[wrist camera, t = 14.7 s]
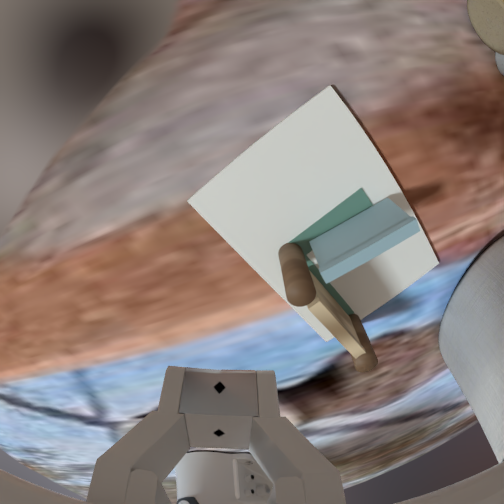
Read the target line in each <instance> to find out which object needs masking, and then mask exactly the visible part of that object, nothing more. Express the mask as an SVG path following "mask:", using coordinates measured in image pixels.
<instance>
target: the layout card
mask: <svg viewBox="0 0 504 504" xmlns="http://www.w3.org/2000/svg"><path fill="white" fill-rule="evenodd" d="M386 198H389V199H390V200H391V201H393V202H394V203H395V204H396V205H397V206H399V207H400V208H401V209H402V210H403V211H404V212H406V213H407V214H408V215H409V216H410V217H412V216H413V217H415V218H416V216H415V214H414V212H413V211H412V209H411V207H410V205H409V203H408V201H407V200H406V198H405V196H404V194H403V193H402V191H401V189H400V187H399V186H398V184H397V182H396V181H395V179H394V177H393V176H392V174H391V172H390V171H389V169H388V167H387V166H386V164H385V163H384V161H383V159H382V158H381V156H380V155H379V153H378V152H377V150H376V149H375V147H374V145H373V144H372V142H371V141H370V139H369V138H368V136H367V135H366V133H365V132H364V131H363V129H362V128H361V126H360V125H359V123H358V122H357V121H356V119H355V118H354V116H353V115H352V113H351V112H350V111H349V109H348V108H347V107H346V105H345V104H344V103H343V101H342V100H341V99H340V97H339V96H338V95H337V93H336V92H335V91H334V89H333V88H332V87H331V86H330V85H329V86H328V87H326V88H325V89H323V90H322V91H321V92H319V93H318V94H317V95H315V96H314V97H313V98H311V99H310V100H309V101H307V102H306V103H305V104H303V105H302V106H301V107H299V108H298V109H297V110H295V111H294V112H293V113H291V114H290V115H289V116H287V117H286V118H285V119H284V120H282V121H281V122H280V123H278V124H277V125H276V126H275V127H273V128H272V129H271V130H270V131H268V132H267V133H266V134H265V135H263V136H262V137H261V138H260V139H258V140H257V141H256V142H255V143H253V144H252V145H251V146H250V147H249V148H247V149H246V150H245V151H244V152H242V153H241V154H240V155H239V156H238V157H236V158H235V159H234V160H233V161H232V162H230V163H229V164H228V165H227V166H226V167H225V168H223V169H222V170H221V171H220V172H219V173H218V174H216V175H215V176H214V177H213V178H212V179H211V180H210V181H208V182H207V183H206V184H205V185H204V186H203V187H202V188H200V189H199V190H198V191H197V192H196V193H195V194H194V195H193V196H191V197H190V198H189V199H188V200H187V201H188V202H189V203H190V204H191V206H192V207H193V208H194V209H195V210H196V211H197V212H198V213H199V214H200V215H201V216H202V217H203V218H204V219H205V220H206V221H207V222H208V223H209V224H210V225H211V226H212V227H213V228H214V229H215V230H216V231H217V232H218V233H219V234H220V235H221V236H222V237H223V238H224V239H225V240H226V241H227V242H228V243H229V244H230V245H231V246H232V247H233V248H234V249H235V250H236V252H237V253H238V254H239V255H240V256H241V257H242V258H243V259H244V260H245V261H246V262H247V263H248V264H249V265H250V266H251V267H252V268H253V269H254V270H255V271H256V272H257V273H258V274H259V275H260V276H261V277H262V278H263V279H264V280H265V281H266V282H267V283H268V284H269V285H270V286H271V287H272V288H273V289H274V290H275V291H276V292H277V293H278V294H279V295H280V296H281V297H282V298H283V299H284V300H285V301H286V302H287V303H288V304H289V305H290V306H291V307H292V308H293V309H294V310H295V311H296V312H297V313H298V314H299V315H300V316H301V317H302V318H303V319H304V320H305V321H306V322H307V323H308V324H309V325H310V326H311V327H312V328H313V329H314V330H315V331H316V332H317V333H318V334H319V335H320V336H321V337H322V338H323V339H324V340H325V341H326V342H327V341H329V340H331V339H332V338H334V336H333V335H332V334H331V332H330V331H329V330H328V329H327V328H326V327H325V326H324V325H323V324H322V323H321V322H320V321H319V320H318V319H317V318H316V317H315V316H314V315H313V314H312V313H311V312H310V311H309V309H308V307H307V305H306V306H302V307H297V306H293V305H291V304H290V303H289V302H288V300H287V297H286V292H285V287H284V282H283V277H282V271H281V266H280V261H279V256H278V252H279V250H280V248H281V246H282V245H284V244H286V243H296V244H298V245H299V246H300V247H301V248H302V250H303V253H304V256H305V259H306V262H307V265H308V268H309V270H310V271H311V273H312V274H313V275H314V276H315V277H316V278H317V279H318V281H319V282H320V283H321V284H322V285H323V286H324V288H325V289H326V290H327V291H328V292H329V293H330V295H331V296H332V297H333V298H334V299H335V300H336V302H337V303H338V304H339V305H340V306H341V307H342V309H343V310H344V311H345V312H346V313H347V314H348V315H350V314H357V315H358V316H359V318H360V320H362V319H363V318H365V317H366V316H367V315H369V314H370V313H372V312H373V311H375V310H376V309H378V308H379V307H381V306H382V305H384V304H385V303H386V302H388V301H389V300H391V299H392V298H393V297H395V296H396V295H398V294H399V293H400V292H402V291H403V290H404V289H406V288H407V287H409V286H410V285H411V284H413V283H414V282H415V281H417V280H418V279H419V278H421V277H422V276H423V275H425V274H426V273H427V272H428V271H430V270H431V269H432V268H434V267H435V266H436V265H437V264H439V262H438V260H437V258H436V256H435V254H434V252H433V249H432V247H431V245H430V243H429V241H428V239H427V237H426V235H425V233H424V231H423V229H422V227H421V226H420V224H419V222H418V220H417V222H418V225H419V228H420V231H419V232H418V233H416V234H414V235H413V236H411V237H409V238H407V239H406V240H404V241H402V242H401V243H399V244H397V245H396V246H394V247H392V248H390V249H389V250H387V251H385V252H383V253H382V254H380V255H378V256H376V257H375V258H373V259H371V260H369V261H367V262H366V263H364V264H362V265H360V266H358V267H357V268H355V269H353V270H351V271H349V272H348V273H346V274H344V275H342V276H340V277H338V278H336V279H335V280H333V281H331V282H329V283H327V284H326V283H325V281H324V279H323V277H322V276H321V274H320V272H319V268H320V267H319V265H318V262H317V260H316V257H315V255H314V252H313V250H312V248H311V245H310V243H309V241H311V240H313V239H315V238H317V237H318V236H320V235H322V234H324V233H326V232H327V231H329V230H331V229H333V228H335V227H336V226H338V225H340V224H342V223H343V222H345V221H347V220H349V219H351V218H352V217H354V216H356V215H358V214H359V213H361V212H363V211H365V210H367V209H368V208H370V207H372V206H374V205H375V204H377V203H379V202H381V201H382V200H384V199H386ZM416 219H417V218H416Z"/></svg>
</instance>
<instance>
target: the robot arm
mask: <svg viewBox="0 0 504 504" xmlns="http://www.w3.org/2000/svg"><path fill="white" fill-rule="evenodd" d="M190 447H206V448H229V449H249V452H250V453H251V454H252V455H251V454H247V453H239V454H226V453H218V452H191V453H187V452H188V450H189V449H190ZM174 468H175V474H176V485H177V504H346V501H345V496H344V491H343V486H342V481H341V476H340V472H339V470H338V469H337V468H336V467H335V466H334V465H333V464H332V463H331V462H329V461H328V460H327V459H326V458H325V457H324V456H323V455H322V454H321V453H320V452H319V451H318V450H317V449H316V448H315V447H314V446H313V445H312V444H311V443H310V442H309V441H308V440H307V439H306V438H305V437H304V436H303V435H302V433H301V432H300V431H299V430H298V429H297V428H296V427H295V426H294V425H293V424H292V423H291V422H290V421H289V420H288V419H287V418H286V417H280V411H279V402H278V394H277V385H276V377H275V372H274V371H255V370H211V369H199V368H188V367H175V366H168V368H167V370H166V373H165V378H164V383H163V388H162V392H161V397H160V402H159V407H158V411H152V412H151V413H149V414H148V415H147V416H146V417H145V418H144V419H143V420H142V421H141V422H139V423H138V424H137V425H136V426H135V427H134V428H133V429H131V430H130V431H129V432H128V433H127V434H126V435H125V436H123V437H122V438H121V439H120V440H119V441H118V442H117V443H115V444H114V445H113V446H112V447H111V448H110V449H108V450H107V451H106V452H105V453H104V454H103V455H101V456H100V457H99V458H98V459H97V461H96V465H95V468H94V472H93V476H92V480H91V484H90V488H89V492H88V496H87V501H82V500H79V499H75V498H72V497H69V496H66V495H63V494H60V493H57V492H54V491H52V490H49V489H46V488H43V487H41V486H38V485H36V484H33V483H31V482H28V481H26V480H24V479H21V478H19V477H17V476H14V475H12V474H10V473H8V472H6V471H4V470H2V469H0V504H171V502H170V500H169V498H168V496H167V494H166V492H165V490H164V488H163V486H162V484H161V483H162V482H163V480H164V479H165V478H166V477H167V476H168V475H169V473H170V472H171V471H172V470H173V469H174ZM395 504H504V461H503V462H501V463H499V464H497V465H496V466H493V467H491V468H489V469H487V470H485V471H483V472H481V473H479V474H477V475H474V476H472V477H470V478H467V479H465V480H462V481H460V482H458V483H455V484H453V485H450V486H447V487H445V488H442V489H439V490H437V491H434V492H431V493H428V494H425V495H422V496H419V497H416V498H413V499H409V500H406V501H402V502H399V503H395Z"/></svg>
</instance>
